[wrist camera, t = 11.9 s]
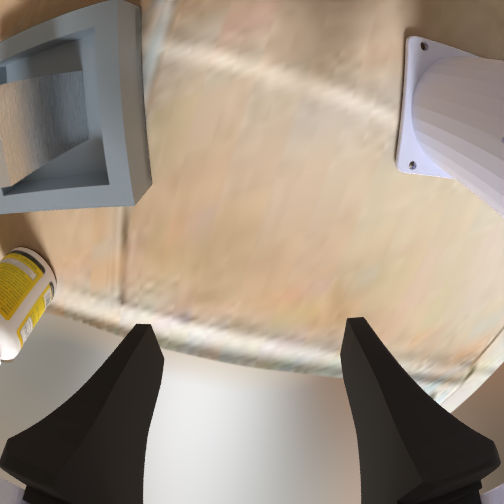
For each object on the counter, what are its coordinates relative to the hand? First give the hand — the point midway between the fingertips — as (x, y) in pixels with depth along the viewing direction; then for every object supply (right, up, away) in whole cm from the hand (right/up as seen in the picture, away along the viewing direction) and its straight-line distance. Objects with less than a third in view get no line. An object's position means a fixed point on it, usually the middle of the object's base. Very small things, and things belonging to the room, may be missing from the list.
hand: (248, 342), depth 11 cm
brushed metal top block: (-11, +11, +3) cm, 16 cm away
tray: (-11, +12, +3) cm, 16 cm away
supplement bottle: (-18, +2, +10) cm, 21 cm away
